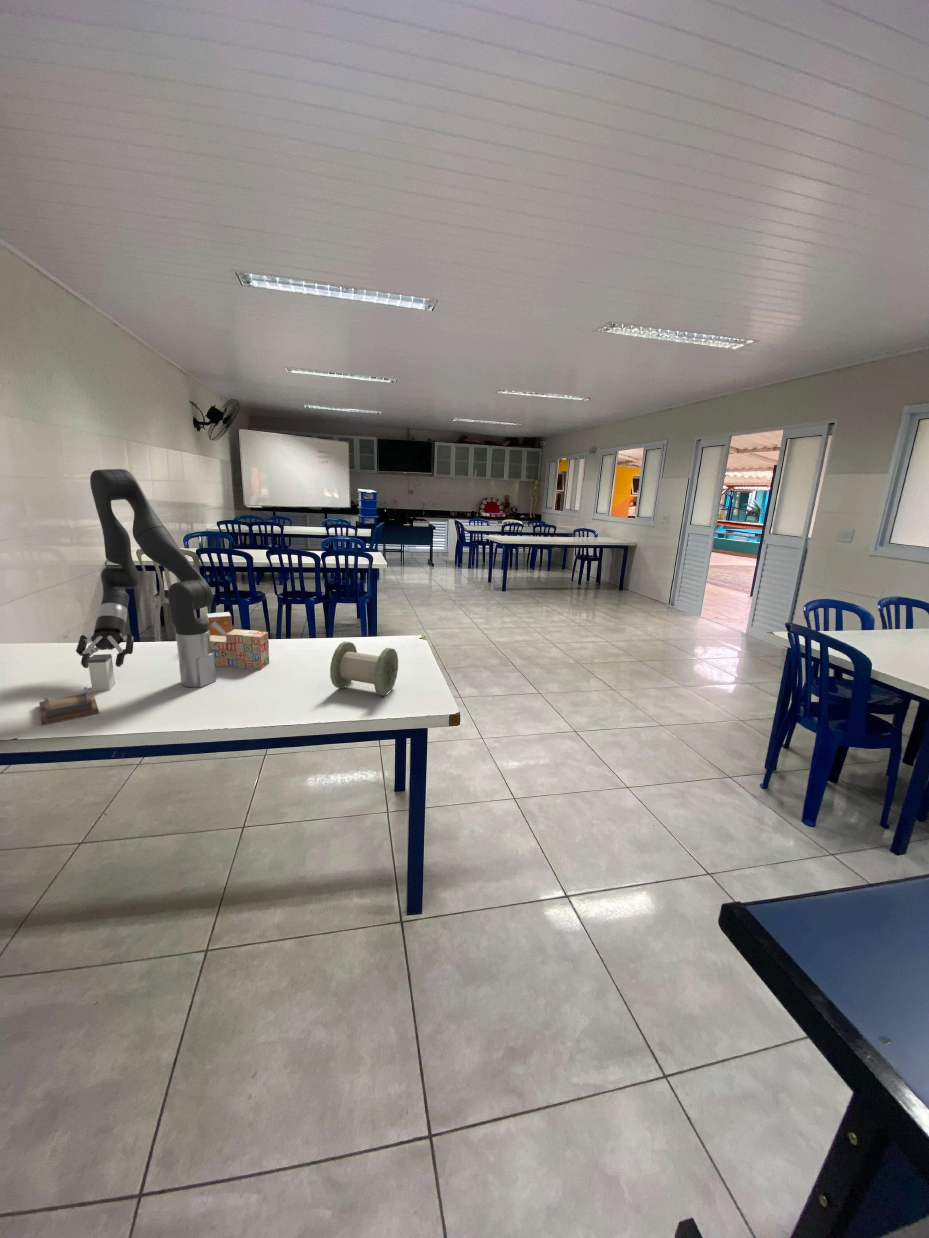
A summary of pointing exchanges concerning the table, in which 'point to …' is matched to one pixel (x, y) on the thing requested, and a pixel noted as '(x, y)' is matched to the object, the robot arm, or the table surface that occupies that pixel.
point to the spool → (364, 668)
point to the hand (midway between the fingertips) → (101, 666)
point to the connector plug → (101, 672)
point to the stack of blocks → (241, 649)
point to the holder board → (67, 707)
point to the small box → (219, 623)
